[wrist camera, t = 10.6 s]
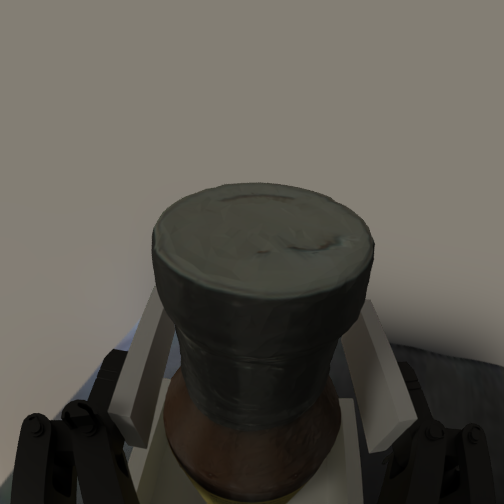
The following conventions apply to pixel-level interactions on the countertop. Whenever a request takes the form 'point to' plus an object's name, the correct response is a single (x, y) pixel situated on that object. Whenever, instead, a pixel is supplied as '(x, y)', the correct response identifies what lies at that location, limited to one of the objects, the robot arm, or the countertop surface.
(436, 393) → the countertop surface
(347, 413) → the tray
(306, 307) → the sauce bottle
